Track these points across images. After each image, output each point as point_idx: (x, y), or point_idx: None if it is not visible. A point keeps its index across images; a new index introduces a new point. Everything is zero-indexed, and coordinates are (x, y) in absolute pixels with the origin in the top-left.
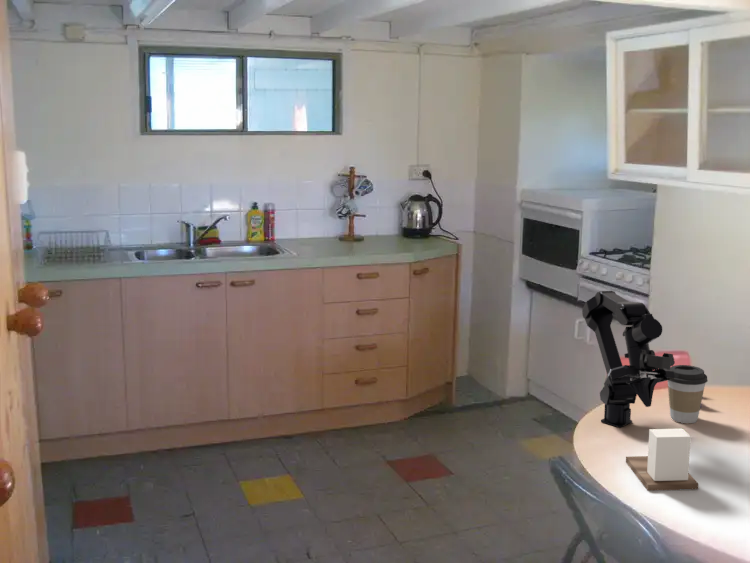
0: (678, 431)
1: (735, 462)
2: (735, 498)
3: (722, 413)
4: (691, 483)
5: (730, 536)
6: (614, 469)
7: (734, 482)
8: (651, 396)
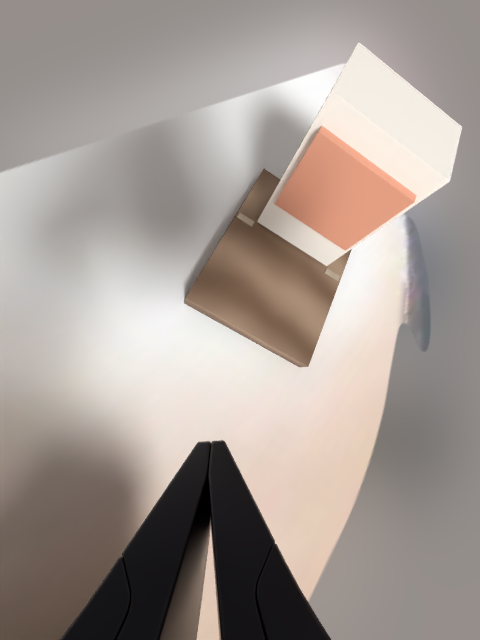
0: (367, 90)
1: (20, 189)
2: (224, 116)
3: None
4: (276, 178)
5: (334, 83)
6: (346, 349)
7: (156, 142)
8: (169, 510)
